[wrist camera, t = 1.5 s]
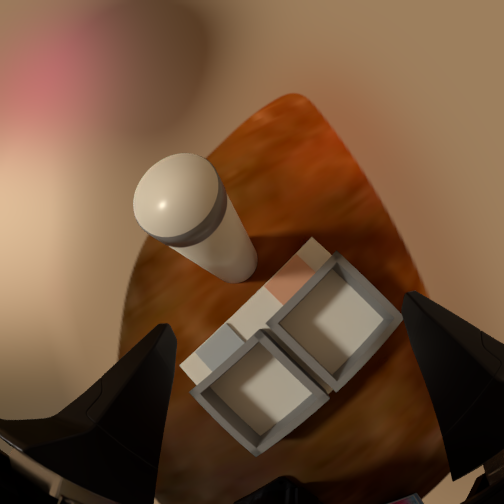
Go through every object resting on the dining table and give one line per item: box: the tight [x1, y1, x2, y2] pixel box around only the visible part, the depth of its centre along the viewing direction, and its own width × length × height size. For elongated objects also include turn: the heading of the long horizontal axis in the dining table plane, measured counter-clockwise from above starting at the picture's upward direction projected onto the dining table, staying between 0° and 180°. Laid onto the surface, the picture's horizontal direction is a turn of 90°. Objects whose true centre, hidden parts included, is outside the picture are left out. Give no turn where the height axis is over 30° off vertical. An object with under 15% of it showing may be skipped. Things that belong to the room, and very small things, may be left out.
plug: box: [133, 153, 258, 283], centre depth 17 cm, size 4×4×13 cm
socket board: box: [179, 237, 403, 457], centre depth 19 cm, size 15×10×4 cm, turn 134°
